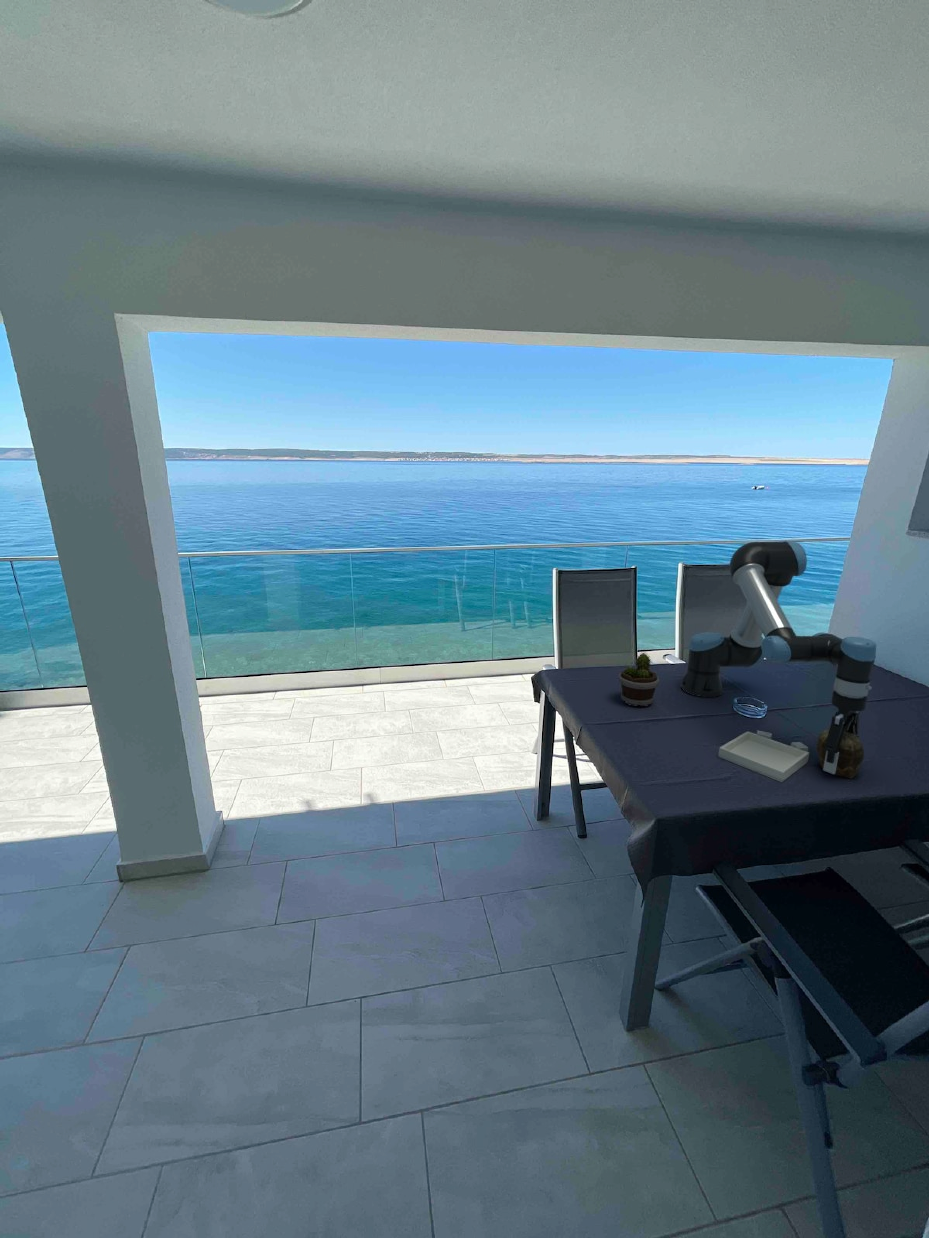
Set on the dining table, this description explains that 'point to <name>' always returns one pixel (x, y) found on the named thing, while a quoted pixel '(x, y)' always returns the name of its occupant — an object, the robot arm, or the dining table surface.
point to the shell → (843, 754)
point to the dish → (764, 756)
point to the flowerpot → (638, 682)
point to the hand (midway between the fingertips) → (837, 765)
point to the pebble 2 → (799, 746)
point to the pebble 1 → (764, 734)
